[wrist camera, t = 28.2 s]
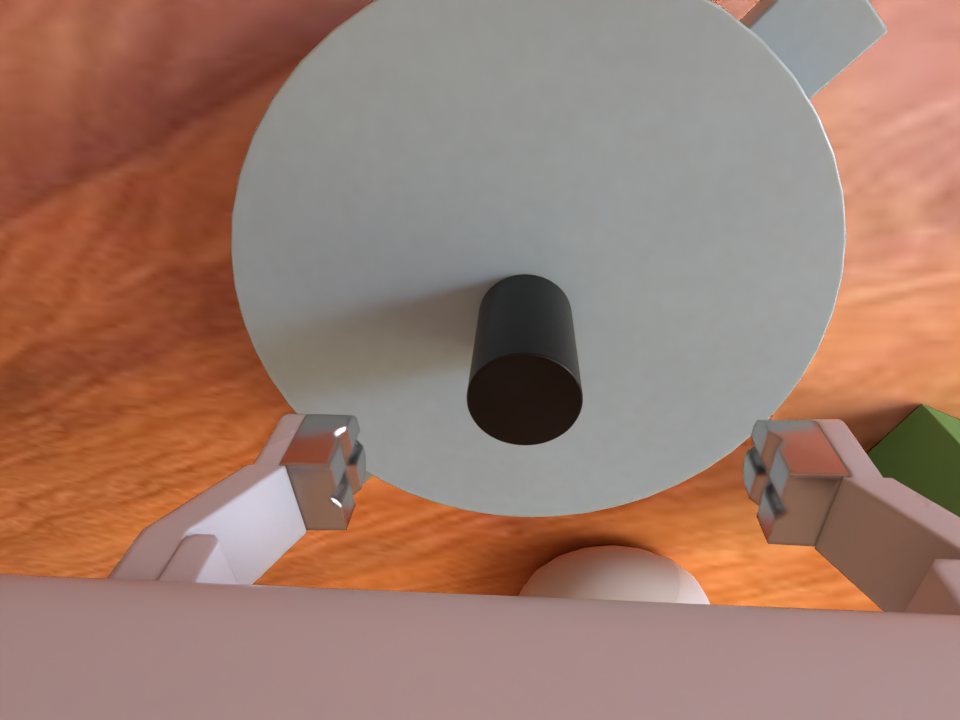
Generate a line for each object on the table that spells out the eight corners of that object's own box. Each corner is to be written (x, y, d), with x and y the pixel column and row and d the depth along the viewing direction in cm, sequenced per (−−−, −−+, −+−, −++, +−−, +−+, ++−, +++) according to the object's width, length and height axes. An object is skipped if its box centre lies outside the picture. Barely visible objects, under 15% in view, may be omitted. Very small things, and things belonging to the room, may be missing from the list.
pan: (933, 183, 18) (1037, 235, 14) (487, 501, 28) (481, 583, 24) (605, -285, 13) (636, -391, 9) (196, 300, 23) (130, 364, 19)
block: (1011, 440, 24) (1105, 529, 20) (923, 510, 26) (991, 601, 22) (921, 402, 23) (1000, 487, 19) (839, 477, 25) (894, 566, 21)
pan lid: (943, 291, 16) (1096, 404, 12) (526, 552, 24) (526, 680, 19) (521, -269, 11) (516, -438, 6) (152, 301, 18) (34, 401, 14)
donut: (494, 622, 33) (657, 660, 34) (490, 682, 30) (668, 722, 31) (546, 509, 28) (740, 556, 28) (547, 569, 25) (762, 620, 26)
